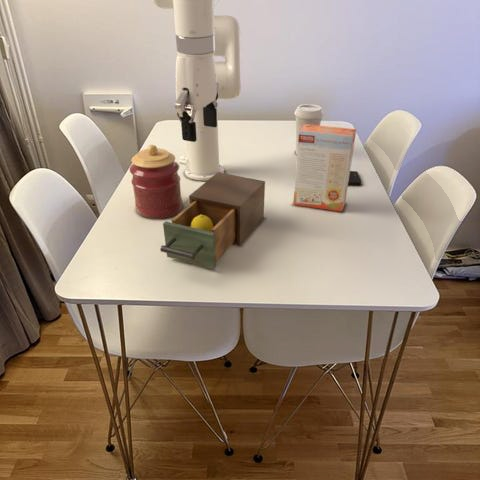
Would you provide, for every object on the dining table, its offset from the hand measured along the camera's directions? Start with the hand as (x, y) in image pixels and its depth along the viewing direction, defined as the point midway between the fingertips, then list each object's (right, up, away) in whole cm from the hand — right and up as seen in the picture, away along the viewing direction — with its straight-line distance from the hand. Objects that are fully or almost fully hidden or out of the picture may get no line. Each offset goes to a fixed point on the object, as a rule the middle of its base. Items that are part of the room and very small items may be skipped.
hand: (200, 133), depth 102 cm
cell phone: (+37, +2, +42) cm, 56 cm away
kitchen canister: (-14, -10, +27) cm, 32 cm away
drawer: (-1, -26, +7) cm, 27 cm away
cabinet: (+6, -17, +19) cm, 26 cm away
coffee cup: (+32, +17, +59) cm, 69 cm away
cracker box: (+31, -9, +29) cm, 44 cm away
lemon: (0, -24, +8) cm, 25 cm away
